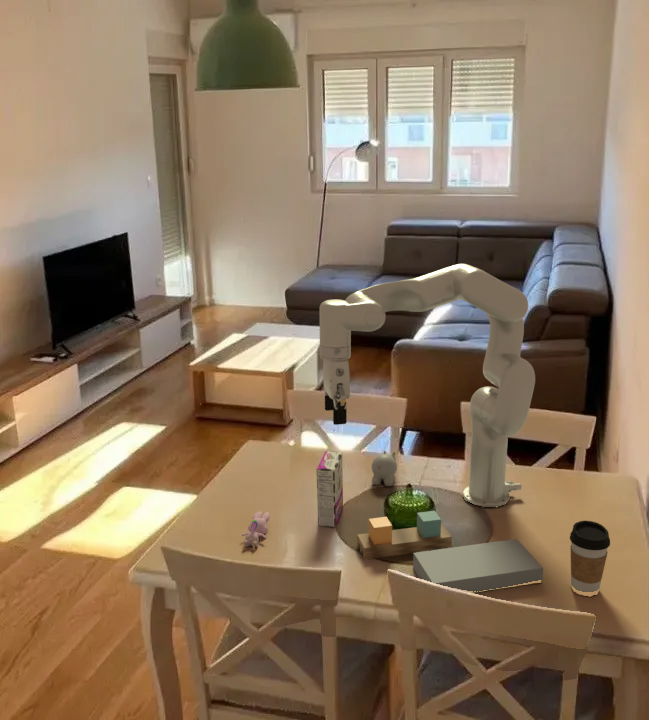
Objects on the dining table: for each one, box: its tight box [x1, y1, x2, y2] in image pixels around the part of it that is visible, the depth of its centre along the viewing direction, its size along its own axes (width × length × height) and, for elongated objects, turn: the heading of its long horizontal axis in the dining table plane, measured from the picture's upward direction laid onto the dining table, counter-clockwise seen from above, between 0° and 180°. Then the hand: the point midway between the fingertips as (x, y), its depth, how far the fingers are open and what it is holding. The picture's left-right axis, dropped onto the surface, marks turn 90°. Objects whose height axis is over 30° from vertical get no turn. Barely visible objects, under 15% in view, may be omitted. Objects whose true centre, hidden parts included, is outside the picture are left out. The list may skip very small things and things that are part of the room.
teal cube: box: [416, 510, 442, 538], centre depth 194 cm, size 4×4×4 cm
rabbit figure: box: [241, 511, 270, 551], centre depth 200 cm, size 6×6×15 cm
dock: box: [412, 538, 544, 594], centre depth 182 cm, size 26×13×4 cm, turn 103°
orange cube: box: [368, 516, 393, 545], centre depth 192 cm, size 4×4×4 cm
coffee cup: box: [569, 520, 611, 592], centre depth 174 cm, size 8×8×15 cm
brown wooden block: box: [356, 523, 453, 560], centre depth 194 cm, size 22×6×4 cm, turn 103°
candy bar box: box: [315, 450, 344, 528], centre depth 207 cm, size 11×5×16 cm, turn 168°
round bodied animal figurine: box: [371, 450, 398, 487], centre depth 229 cm, size 7×12×8 cm, turn 159°
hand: (335, 416), depth 198 cm, fingers open, 9 cm apart
